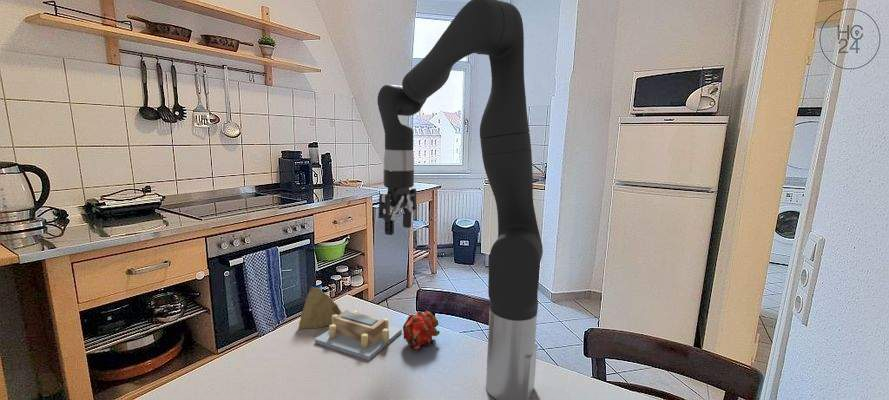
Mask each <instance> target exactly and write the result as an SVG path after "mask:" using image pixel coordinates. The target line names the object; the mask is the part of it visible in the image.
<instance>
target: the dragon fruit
mask: <svg viewBox="0 0 889 400" xmlns="http://www.w3.org/2000/svg"><path fill="white" fill-rule="evenodd" d="M438 326H439V321H438V319H437V317H436V316H435V315H434V314H432V312H431V311H428V310H426V311H424V312H422V311H419V310H417V312H416V314H414V315H413V314H410V315H408V317H407V318H406V321H405V323H404V324H403V326H402V332H403V340H405V341H406V343H407V344H408V345H409V347H410V351H413V349H414V350H420V349H422V348H423V347H424V346H423V345H426V346H427V347H429V346H433V345H434V344H435V343H436V341H437V340H436V339H435V338H434V339H433V337H437V336H439V335H440V333H441V332H440V330H438V329H437V327H438Z"/></svg>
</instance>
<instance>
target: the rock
mask: <svg viewBox="0 0 889 400" xmlns="http://www.w3.org/2000/svg"><path fill="white" fill-rule="evenodd" d="M341 313H343V311H341V309H340V308H339V305H338V304H337V303H336V302H335V301H334V299H332V297H330V295H328V294H326V293H325V292H324V291H322V289H320V288H319V287H317V286H315V287H314V286H311V287H310V289H309V292H308V293H307V296H306V298H305V302H304V305H303V308H302V311H301V314H300V319H299V323H298V327H297V328H298V330H303V329H318V328H323V327H327V326H328V327H329V325H331V324H332V315H335V314H337V315H339V314H341Z"/></svg>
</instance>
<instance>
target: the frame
mask: <svg viewBox="0 0 889 400" xmlns="http://www.w3.org/2000/svg"><path fill="white" fill-rule="evenodd" d="M353 311H354V310H348V309H346V310H344V311H342V313H341V314H339V315H338V316H336V317H334V324H335V325H336V334H340V335H343V336H346V337H350V338H353V339H356V340H360V341H361V335H362V334H368V343H370V344H373V345H374V344H375V343H376V342H378V341H379V340H380V339H381V338H382V330H383V329H385V320H383V319H384V318H378V317H375V316H372V315H371V316H370V315H367V314H364V313H359V312H358V313H356V312H353Z"/></svg>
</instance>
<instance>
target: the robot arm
mask: <svg viewBox="0 0 889 400" xmlns="http://www.w3.org/2000/svg"><path fill="white" fill-rule="evenodd" d="M524 33H525V32H524V23H523V18H522V15H521V13H520V11H519V9H518V8H517V7H516V6H515V5H514V4H512V3H510V2H507V1H503V0H469V1H467V2H466V3H465V4H464V6H462V8H461V9H459V11H458V12H457V14H456V15H455V17H454V18H453V19H452V21H450V23H449V25H448V26H447V27H446V29H445V30H444V31H443V33H442V34H441V35H440V37H439V38H438V39H437V41H436V43H435V44H434V45H433V47H432V48H431V50H429V51H428V53H427V54H426V55H425V57H423V58H422V59H421V60H420V61H419V62H418V63H417V64H416V65H415V66H413V68H412V69H410V70H409V71H408V72H407V73H406V74H405V76H404V77H403V79H402V81H401V82H402V83H401V85H397V84H384V85H383V86H382V87H381V88H380V89H379V91H378V93H377V101H376V102H377V107H378V112H379V115H380V118H381V123H382V126H383V132H384V155H383V186H384V187H385V188H387V193H380V194H378V195H379V197H378V200H379V201H378V218H379V219H382V220H384V234H385V235H386V236H394V234H395V219H394V218H395V216H396V215H397V213H398V212H399V210H400V209H401V210H402V212H403V213H402V227H403V228H406V229H410V228H411V227H412V214H413V213H414V211H416V210H417V189H416V188H413V187H414V185H415V174H414V173H415V157H414V156H415V155H414V130H413V128H412V127H410V126H408V125H405V124H403V123H401V121H400V119H399V116H403V117H404V116H406V117H410V116H414V115H416V114H417V113H419V112H420V111H421V110H422V108H423V106H424V104H425V103H426V102H427V99H428V98H430V97H431V96H433V94H435V93H437V92H438V90H440V89H441V88H442V87H443V86H444V85H446V82H448V80H449V78H450V74H451V72H452V69H453V67H454V65H455V64H456V63H458V62H459V61H461V60H462V59H464V58H466V57H468V56H470V55H472V54H477V55H486V56H488V58H489V64H490V71H491V72H490V74H491V87H490V92H489V97H488V100H487V101H486V105H485V108H484V110H483V113H482V117H481V120H480V125H479V139H480V147H481V148H480V149H481V157H482V162H483V168H484V170H485V174H486V176H487V181H488V184H489V186H490V188H491V191H492V194H493V197H494V200H495V206H496V213H497V229H498V230H497V239H496V240H495V242H494V243H493V244H492V246H491V248H490V252H489V259H488V280H487V281H488V285H487V286H488V289H487V292H488V293H487V294H488V299H489V315H488V316H489V318H488V336H487V353H486V355H487V357H486V373H485V374H486V375H485V381H486V382H485V388H486V391H487V393H488V395H489V396H491V397H492V398H493V399H494V400H530V399H531V397H532V393H533V390H535V389H534V388H535V381H536V380H535V378H536V366H537V364H536V363H537V353H538V352H537V350H538V345H537V344H536V336H537V335H536V334H537V324H538V323H537V322H538V321H537V319H538V311H539V310H538V309H539V299H538V298H539V297H538V294H539V279H540V278H539V277H540V264H541V261H542V257H543V253H544V252H543V244H542V238H541V236H540V235H541V234H540V229H539V226H538V221H537V217H536V216H537V215H536V211H535V210H536V209H535V206H534V197H533V196H534V192H533V191H534V187H533V186H534V185H533V183H534V182H533V181H534V180H533V179H534V178H533V177H534V175H533V174H534V172H533V171H534V170H533V158H532V157H533V156H532V155H533V154H532V152H533V151H532V145H531V135H530V134H531V133H530V126H529V119H528V110H527V98H526V97H527V96H526V87H525V85H526V83H525V46H524V45H525V44H524V43H525V36H524V35H525V34H524Z"/></svg>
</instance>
